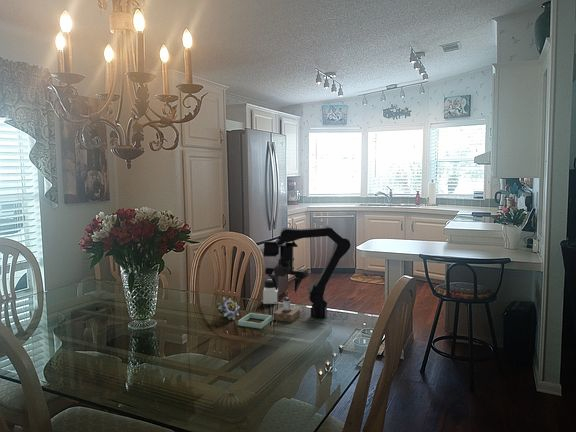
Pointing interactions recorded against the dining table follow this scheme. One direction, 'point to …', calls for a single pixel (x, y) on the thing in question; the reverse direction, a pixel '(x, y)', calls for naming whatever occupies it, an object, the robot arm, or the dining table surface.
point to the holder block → (286, 315)
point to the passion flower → (228, 308)
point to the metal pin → (286, 304)
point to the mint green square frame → (244, 322)
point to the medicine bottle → (270, 293)
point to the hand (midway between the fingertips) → (286, 291)
